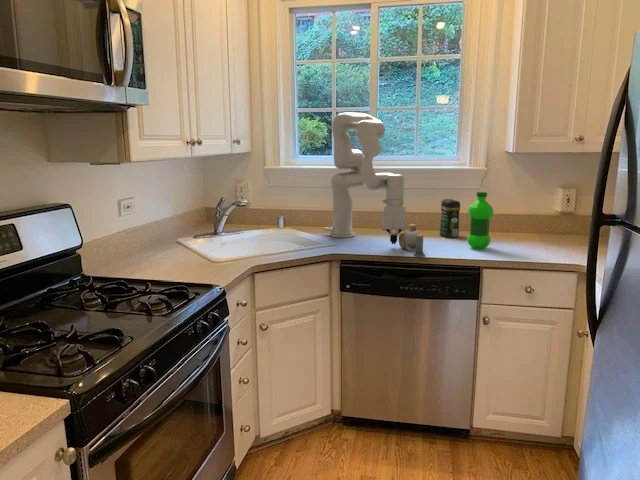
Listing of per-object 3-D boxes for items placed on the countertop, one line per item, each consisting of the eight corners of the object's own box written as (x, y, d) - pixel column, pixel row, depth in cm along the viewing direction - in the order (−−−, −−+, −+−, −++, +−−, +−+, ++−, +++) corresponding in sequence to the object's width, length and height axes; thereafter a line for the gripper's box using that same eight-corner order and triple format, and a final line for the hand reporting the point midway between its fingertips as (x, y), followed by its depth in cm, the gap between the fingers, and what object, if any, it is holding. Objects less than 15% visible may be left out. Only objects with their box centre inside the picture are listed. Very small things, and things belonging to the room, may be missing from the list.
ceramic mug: (397, 246, 224) (397, 230, 222) (414, 246, 226) (415, 229, 224) (406, 252, 214) (407, 235, 212) (424, 251, 216) (425, 234, 214)
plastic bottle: (461, 246, 225) (465, 191, 219) (482, 245, 227) (486, 190, 222) (473, 251, 215) (477, 194, 210) (495, 250, 218) (499, 193, 213)
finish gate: (414, 256, 207) (415, 236, 206) (406, 241, 235) (407, 223, 233) (424, 256, 207) (425, 236, 205) (416, 241, 235) (417, 223, 233)
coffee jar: (437, 234, 251) (438, 198, 247) (451, 234, 253) (453, 197, 249) (446, 238, 242) (448, 200, 238) (461, 237, 244) (463, 200, 240)
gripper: (377, 203, 214) (377, 245, 218) (412, 204, 213) (411, 245, 217) (377, 201, 221) (376, 241, 225) (411, 201, 220) (409, 242, 224)
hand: (393, 243), depth 221 cm, fingers closed
